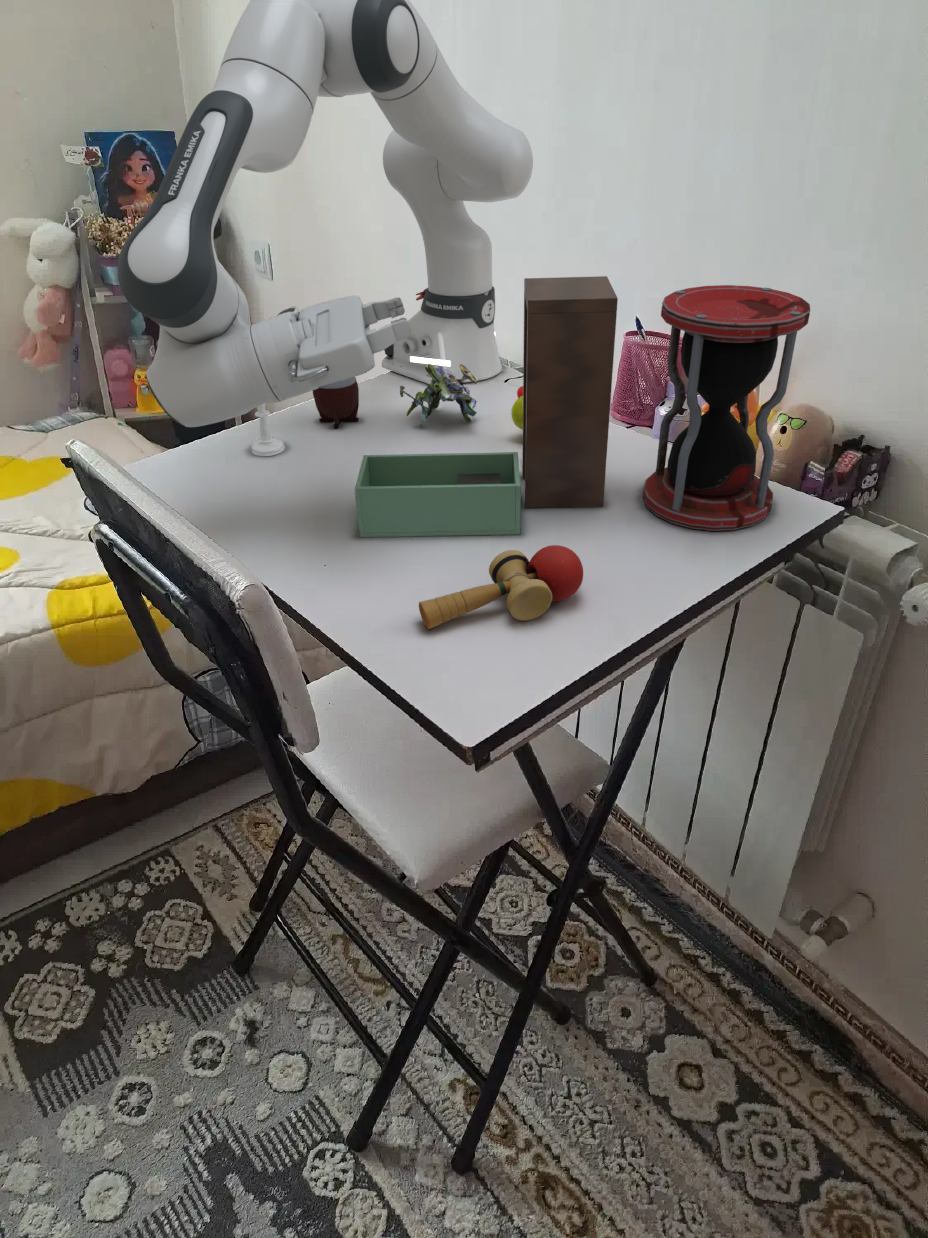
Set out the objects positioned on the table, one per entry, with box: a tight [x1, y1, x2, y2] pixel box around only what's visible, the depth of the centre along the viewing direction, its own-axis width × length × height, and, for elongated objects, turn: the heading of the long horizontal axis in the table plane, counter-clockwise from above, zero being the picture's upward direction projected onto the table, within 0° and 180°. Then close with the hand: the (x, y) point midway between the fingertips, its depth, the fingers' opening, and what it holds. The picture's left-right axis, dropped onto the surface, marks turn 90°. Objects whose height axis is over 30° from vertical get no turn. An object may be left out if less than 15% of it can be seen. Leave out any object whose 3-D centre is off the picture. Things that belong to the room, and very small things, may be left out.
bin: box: [354, 451, 522, 538], centre depth 107 cm, size 20×10×7 cm, turn 89°
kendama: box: [418, 544, 584, 630], centre depth 90 cm, size 8×6×18 cm
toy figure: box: [510, 385, 523, 431], centre depth 127 cm, size 18×6×7 cm, turn 0°
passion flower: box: [399, 364, 478, 428], centre depth 133 cm, size 11×11×12 cm
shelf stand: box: [521, 275, 619, 509], centre depth 107 cm, size 10×10×26 cm
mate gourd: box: [312, 376, 360, 430], centre depth 132 cm, size 8×8×15 cm
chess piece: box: [251, 403, 286, 457], centre depth 126 cm, size 5×5×10 cm
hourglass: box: [641, 284, 811, 532], centre depth 104 cm, size 16×16×25 cm
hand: (406, 314), depth 97 cm, fingers open, 8 cm apart
